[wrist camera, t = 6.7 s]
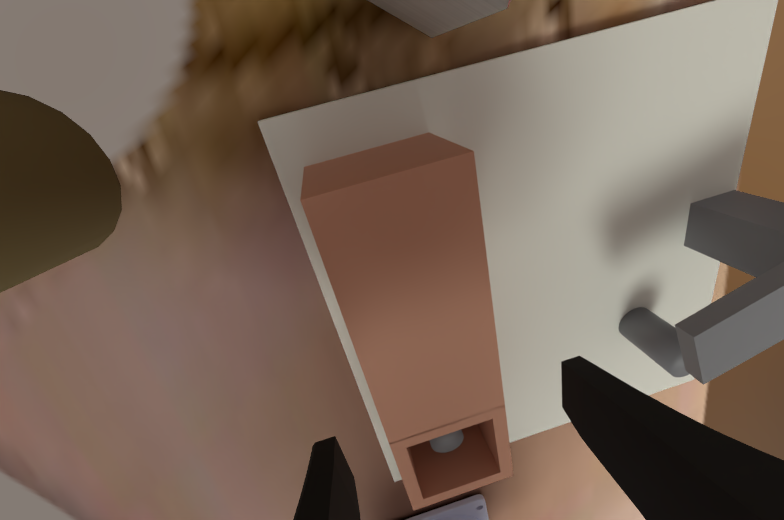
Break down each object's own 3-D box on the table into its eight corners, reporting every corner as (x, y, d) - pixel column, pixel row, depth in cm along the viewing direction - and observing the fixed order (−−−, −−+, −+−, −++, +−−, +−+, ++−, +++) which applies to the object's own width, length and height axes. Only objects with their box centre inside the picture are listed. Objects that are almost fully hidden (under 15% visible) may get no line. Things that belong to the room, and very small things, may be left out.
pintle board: (688, 372, 25) (799, 458, 19) (392, 473, 24) (418, 598, 18) (768, -15, 15) (1054, -77, 9) (259, 120, 13) (219, 147, 8)
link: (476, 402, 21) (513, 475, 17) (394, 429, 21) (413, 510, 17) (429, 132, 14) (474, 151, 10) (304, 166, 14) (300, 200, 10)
